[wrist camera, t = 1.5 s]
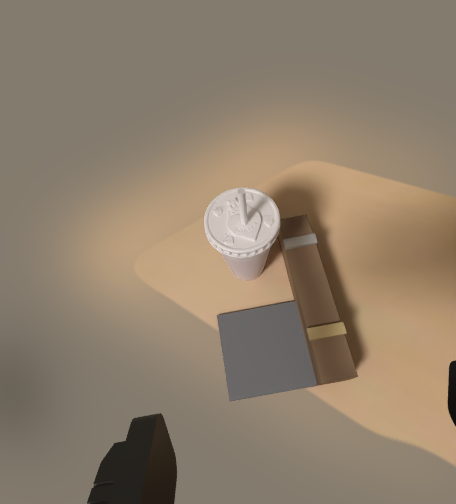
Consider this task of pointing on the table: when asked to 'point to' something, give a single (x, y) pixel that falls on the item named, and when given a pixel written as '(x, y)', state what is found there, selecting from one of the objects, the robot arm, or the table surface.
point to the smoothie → (243, 229)
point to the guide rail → (315, 303)
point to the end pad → (265, 351)
